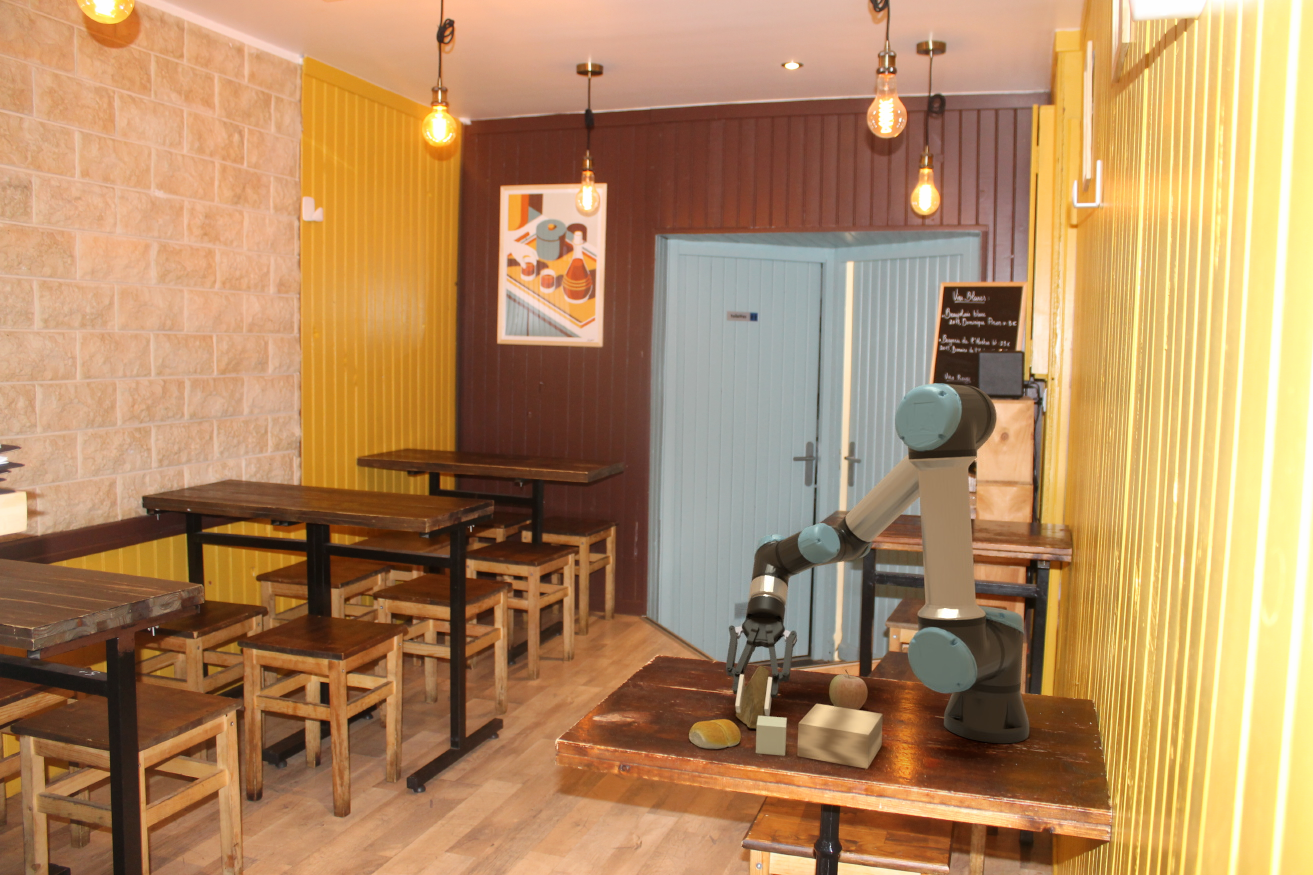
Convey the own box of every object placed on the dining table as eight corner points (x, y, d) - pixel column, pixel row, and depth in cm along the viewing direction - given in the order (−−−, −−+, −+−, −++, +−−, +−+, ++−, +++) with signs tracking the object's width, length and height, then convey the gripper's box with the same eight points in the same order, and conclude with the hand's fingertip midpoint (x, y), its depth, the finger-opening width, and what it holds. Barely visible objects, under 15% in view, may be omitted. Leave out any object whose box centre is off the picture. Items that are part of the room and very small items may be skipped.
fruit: (821, 710, 191) (823, 670, 190) (836, 701, 197) (838, 662, 196) (858, 718, 186) (860, 677, 186) (872, 708, 193) (874, 669, 192)
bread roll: (749, 744, 171) (749, 722, 171) (708, 753, 166) (709, 730, 166) (721, 730, 178) (721, 708, 178) (681, 738, 173) (681, 716, 173)
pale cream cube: (785, 745, 171) (786, 717, 171) (784, 755, 166) (785, 727, 166) (757, 743, 172) (758, 715, 172) (755, 753, 167) (756, 724, 167)
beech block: (881, 746, 172) (882, 713, 172) (867, 770, 161) (868, 734, 161) (815, 735, 177) (816, 703, 177) (797, 757, 166) (798, 723, 166)
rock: (774, 721, 176) (790, 699, 184) (746, 682, 177) (764, 661, 185) (730, 747, 180) (748, 724, 189) (703, 708, 181) (722, 687, 190)
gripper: (812, 618, 195) (801, 725, 179) (725, 611, 199) (707, 715, 184) (810, 597, 189) (799, 705, 174) (721, 590, 194) (702, 695, 178)
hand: (752, 710), depth 179 cm, fingers closed on rock, 5 cm apart
